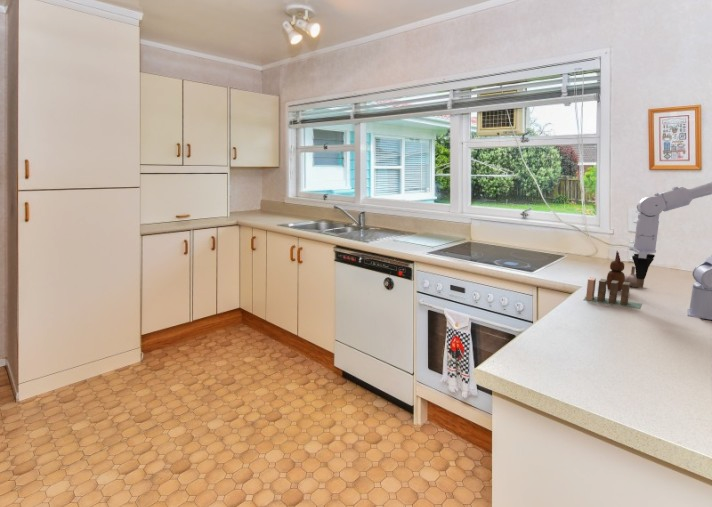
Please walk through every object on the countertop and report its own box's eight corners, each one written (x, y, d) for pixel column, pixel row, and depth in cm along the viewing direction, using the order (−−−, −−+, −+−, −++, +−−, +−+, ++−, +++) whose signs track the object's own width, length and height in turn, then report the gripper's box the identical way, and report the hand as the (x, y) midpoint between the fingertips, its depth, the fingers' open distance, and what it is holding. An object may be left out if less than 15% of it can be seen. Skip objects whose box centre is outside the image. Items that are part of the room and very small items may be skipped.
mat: (642, 304, 145) (642, 303, 145) (640, 310, 138) (640, 309, 138) (587, 296, 155) (587, 295, 154) (582, 301, 148) (582, 300, 148)
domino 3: (627, 302, 146) (630, 282, 144) (626, 305, 142) (628, 284, 141) (621, 301, 147) (624, 281, 145) (620, 304, 143) (622, 284, 142)
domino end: (593, 297, 152) (595, 278, 150) (591, 300, 148) (593, 280, 147) (588, 296, 153) (590, 277, 152) (585, 299, 149) (587, 279, 148)
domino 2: (616, 300, 148) (618, 281, 146) (614, 303, 144) (616, 283, 143) (610, 300, 149) (612, 280, 147) (608, 302, 145) (610, 282, 144)
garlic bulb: (641, 289, 166) (644, 268, 165) (619, 286, 170) (622, 266, 168) (640, 285, 172) (643, 265, 171) (619, 282, 176) (621, 263, 175)
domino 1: (604, 299, 150) (607, 279, 148) (602, 302, 146) (605, 281, 145) (599, 298, 151) (601, 278, 150) (596, 301, 147) (599, 281, 146)
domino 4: (643, 284, 140) (646, 263, 139) (642, 287, 136) (645, 265, 135) (637, 283, 141) (639, 262, 140) (635, 286, 137) (638, 264, 136)
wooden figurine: (606, 287, 168) (610, 249, 165) (624, 289, 164) (628, 250, 162) (604, 291, 162) (608, 251, 160) (622, 293, 159) (627, 253, 156)
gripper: (633, 232, 144) (628, 272, 146) (629, 236, 132) (624, 279, 135) (658, 233, 140) (653, 274, 142) (657, 238, 128) (651, 283, 130)
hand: (640, 277), depth 138 cm, fingers closed on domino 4, 4 cm apart
